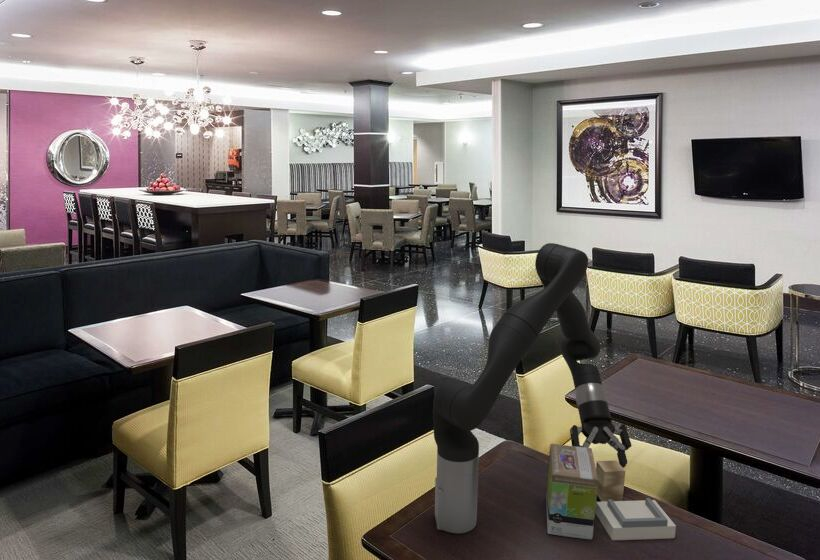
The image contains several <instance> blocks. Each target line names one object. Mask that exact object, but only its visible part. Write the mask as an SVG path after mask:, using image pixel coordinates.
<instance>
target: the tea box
mask: <svg viewBox="0 0 820 560" xmlns="http://www.w3.org/2000/svg"><path fill="white" fill-rule="evenodd" d="M548 454H549V457H548V465H547V466H548V469H547V482H546V493H545V495H546V496H545V500H546V528H547V534H548V535H555V536H560V537H567V538H568V537H569V538H575V539H576V538H577V539H583V540H591V541H592V540H593V536H594V529H595V527H594V525H595V524H594V523H595V517H596V514H595V512H596V502H597V498H596V497H597V487H598V477H597V472H596V464H595V458H594V452H593V449H592V448H591V447H589V448H585V447H575V446H572V445H565V444H563V445H562V444H557V443H556V444H554V443H550V444H549V453H548Z"/></svg>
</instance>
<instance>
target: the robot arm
mask: <svg viewBox="0 0 820 560" xmlns="http://www.w3.org/2000/svg"><path fill="white" fill-rule="evenodd" d="M588 266H589V256H588V255H587V254H586V253H585V251H582V250H580V249H577V248H575V247H569V246H566V245H563V244H559V243H553V242H549V243H545V244H544V245H542V246H541V247H540V249H539V250H538V251H537V254H536V257H535V271H536V273H537V276H538V278H539V280H540V282H541V284H542V285H543V289H541V290H540V291H538V292H536V293H534V294H533V295H531V296H529V297H526V298H524V299H522V300H520V301H519V302H516V303H515V304H513V305H512V306H510V307H509V308H508V309H507V310H506V311H505V312H504V313H503V314H502V316H501V317H500V319H499V320H498V321H497V323H496V324H495V326H493V327H492V330H491V332H490V335H489V339H488V347H487V349H488V350H487V358H486V359H487V360H486V364H485V367H484V368H483V370H482V372H481V374H480V375H479V376H478V378H477V380H476V381H475V382H474V383H473V384H472V385H470V384H467V383H465V382H463V381H461V380H458V379H456V378H449V379H446V380H445V381H443V382H442V383H440V385H439V386H438V388H437V389H436V391H435V394H434V396H433V397H434V398H433V402H432V421H433V423H432V425H433V439H434V442H435V445H436V446H437V447H436V450H437V451H436V477H435V484H434V485H435V487H434V516H435V517H434V518H435V523H436V524H435V525H436V529H437V530H439V531H445V532H447V533H451V534H465V533H469V532H470V531H472V530H474V529H475V527H476V526H477V522H478V521H477V519H478V491H479V490H478V489H479V488H478V485H479V458H480V457H479V455H480V444H479V440H478V438H477V436H476V435H475V434H474V433H473V432H472V431H474V430H475V429H477V428H478V427H479V426H481V424H483V422H484V421H485V420H486V418H487V417H488V416H489V414H490V412H491V410H492V408H493V407H494V404H495V403H496V401H497V399H498V398H499V395H500V394H501V392H502V390H503V389H504V387H505V385H506V384H507V382H508V380H509V379H510V377H511V375H512V374H513V373H514V371H515V369H516V368H517V366H518V365H519V364H520V362H521V361H522V359H523V358H524V356H525V355H526V354H527V353H528V351H529V350H530V348H531V347H532V346H533V344H534V343H535V341H536V340H537V339H538V337H539V335H540V334H541V333H542V331H543V330H544V328H545V327H546V325H547V324H548V322H549V321H550V320H551V318H552V316H553V315H555V312H556V315H557V319H558V322H559V325H560V329H561V332H562V334H563V336H564V337H562V339H561V340H560V342H559V351H560V354H561V356H562V357H563V359H564V361H565V362H566V364H567V366H568V369H569V370H570V373H571V377H572V381H573V386H574V389H575V390H574V391H575V401H576V402H575V403H576V406H577V411H578V416H579V420H580V423H581V426H577V424H576V425H575V424H573V425H572V426H571V427H570V429H569V434H570V440H571V441H570V442H571V446H575V447H585V448H590V446H591V444H593V445H598V444H600V445H606V444H608V445H609V446H610V447H611V448H613V449H614V450H615V451H616V452H617V453H616V455H617V461H618V463H619V464H620V465H621V466H622V468H623V469H625V467H626V466H627V464H628V459H627V455H626V451H628V450H629V449H630V448H631V447H632V442H631V440H630V435H629V432H628V429H627V427H626V424H624V423H622V424H620V425H614V424H613V422H612V417H611V412H610V408H609V403H608V400H607V395H606V391H605V389H604V387H603V383H602V382H603V381H602V378H601V374H600V370H599V368H598V366H596V365H595V364H593V363H591V364H590V363H582V362H581V363H580V361H583V360H591V359H595V358H597V356H599V354H600V353H601V343H600V341H599V339H598V338H597V335H596V334H595V333H594V332H593V330H592V329H591V328H590V325H589V322H588V318H587V312H586V310H585V308H584V305H583V304H582V302H581V301H580V300H579V298H578V297H577V296H576V294H575V293H574V292H573V291H574V290H575V289H576V287H578V286H579V284H580V283H581V281H582V280H583V278H584V277H585V275H586V273H587V269H588ZM578 361H579V362H578ZM615 432H616V434H617V435H619V438H620V440H619V438H618V437H617V436H616V435H615V434H614V433H615ZM580 434H582V435H584V437H585V440H584V442H583V443H582V445H580V438H579V437H580V436H579V435H580Z"/></svg>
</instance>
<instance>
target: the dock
mask: <svg viewBox="0 0 820 560" xmlns="http://www.w3.org/2000/svg"><path fill="white" fill-rule="evenodd" d="M595 516H596V517H597V519H598V520H599V522H600V523H601V525H602V527H603V528H604V529H605V531H606V533H607V534H608V536H609V537H610V539H611V541H631V540H633V541H634V540H659V539H660V540H662V539H663V540H664V539H665V540H666V539H668V540H669V539H675V537H676V529H677V525H676V524H675V523H674V522H673V520H672V519H671V518H670V517H669V516H668V514H667V513H666V512H665V511H664V509H663V508H662V507H661V506H660V505H659V503H658V502H657V501H656V500H655V499H651V498H650V497H647V498H645V500H623V501H613V500H612V499H608V501H607V502H601V501H596V507H595Z"/></svg>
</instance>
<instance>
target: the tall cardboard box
mask: <svg viewBox="0 0 820 560" xmlns="http://www.w3.org/2000/svg"><path fill="white" fill-rule="evenodd" d="M595 467H596V472H597V477H598V487H597V497H596V499H599V500H600V502H607V501H608V499H612V500H613V501H624V490H625V479H626V470H625V468H622V466H621V465H620V464H619V460H597V461H596V464H595Z"/></svg>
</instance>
